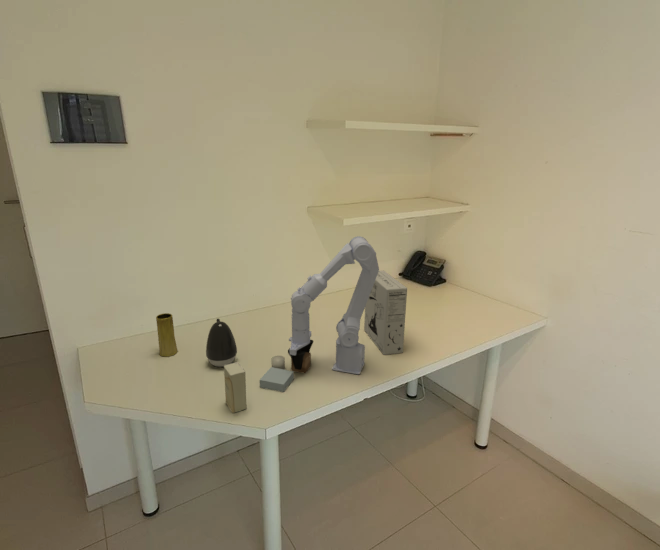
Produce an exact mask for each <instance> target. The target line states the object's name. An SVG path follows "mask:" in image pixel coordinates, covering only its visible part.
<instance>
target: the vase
mask: <svg viewBox="0 0 660 550" xmlns="http://www.w3.org/2000/svg"><path fill="white" fill-rule="evenodd" d="M155 319H156V326H157V338H158V339H157V340H158V349H159V354H158V355H160V356H161V357H172V356H175V355H176V354H177V353H178V351H179V350H178V347H177V342H176V336H175V329H174V327H175V326H174V319H173V314H172V313H168V312H166V313H164V312H163V313H160V314H158V315H156V316H155Z"/></svg>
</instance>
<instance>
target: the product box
mask: <svg viewBox="0 0 660 550" xmlns="http://www.w3.org/2000/svg"><path fill="white" fill-rule="evenodd" d="M407 296H408V287H407V286H405V285H404V284H403V283H401V282H400V281H399V280H398V279H396V278H394V277H393V276H392V275H391V274H389V273H388V272H387V271H386V270H379V272H378V274H377V277H376V280H375V282H374V285H373V288H372V290H371V293H370V295H369V298H368V301H367V303H366V306H365V309H364V322H363V323H364V326H363V327H364V328H363V330H364V332H365V333H366V334H367V335H368V337H369V338H370V339H371V341H372V342H373V343H374V345H375V346H376V347H377V348H378V350H379V351H380V352H381V353H382V355H384V356H386V355H394V354H395V355H396V354H402V353H403V352H404V341H405V323H406V311H407Z"/></svg>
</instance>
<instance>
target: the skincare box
mask: <svg viewBox="0 0 660 550" xmlns="http://www.w3.org/2000/svg"><path fill="white" fill-rule="evenodd" d="M223 372H224V373H223V375H224V391H225V393H224V394H225V403H226V405H227V407H228V408H229V410H230V411H231V412H230V413H232V414H235V413H238V412H241V411H244V410H247V387H246V386H247V385H246V384H247V383H246V382H247V381H246V380H247V379H246V370H245V369H244V368H243V366H242V365H241V364H240V362H238V361H236V362H232V363H231V364H228V365H224V366H223Z"/></svg>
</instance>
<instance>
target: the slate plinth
mask: <svg viewBox="0 0 660 550" xmlns="http://www.w3.org/2000/svg"><path fill="white" fill-rule="evenodd" d="M294 379H295V373H294V371H291V370H288V369H285V370H284V369H278V368H273V367H272V366H271V367H269V369H268V370H267V371H266V372H265V373H264V374H263V375H262V376H261V378H260V379H259V388H261V389H264V390H271V391H276V392H281V393H284V392H285V391H286V390H287V388H288V387H289V386H290V385H291V383H292V382H293V380H294Z"/></svg>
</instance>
